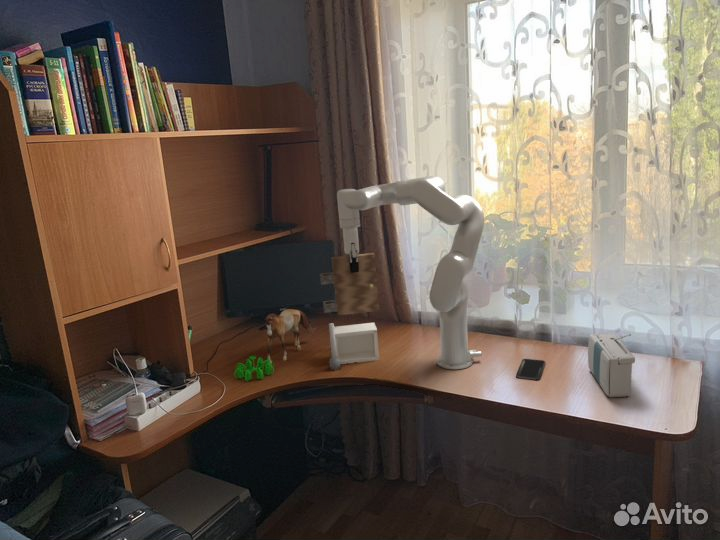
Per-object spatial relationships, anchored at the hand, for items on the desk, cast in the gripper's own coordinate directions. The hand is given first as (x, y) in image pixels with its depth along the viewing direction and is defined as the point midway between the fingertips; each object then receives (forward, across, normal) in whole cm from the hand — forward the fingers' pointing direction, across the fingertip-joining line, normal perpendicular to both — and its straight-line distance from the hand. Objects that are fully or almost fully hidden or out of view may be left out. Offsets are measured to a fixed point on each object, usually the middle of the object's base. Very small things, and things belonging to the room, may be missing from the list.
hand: (354, 270), depth 217 cm
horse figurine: (+32, -3, -26) cm, 41 cm away
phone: (+34, +34, +54) cm, 73 cm away
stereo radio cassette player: (+34, +50, +73) cm, 95 cm away
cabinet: (+32, +10, -4) cm, 34 cm away
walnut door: (+16, 0, -3) cm, 16 cm away
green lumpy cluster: (+32, +11, -40) cm, 53 cm away
